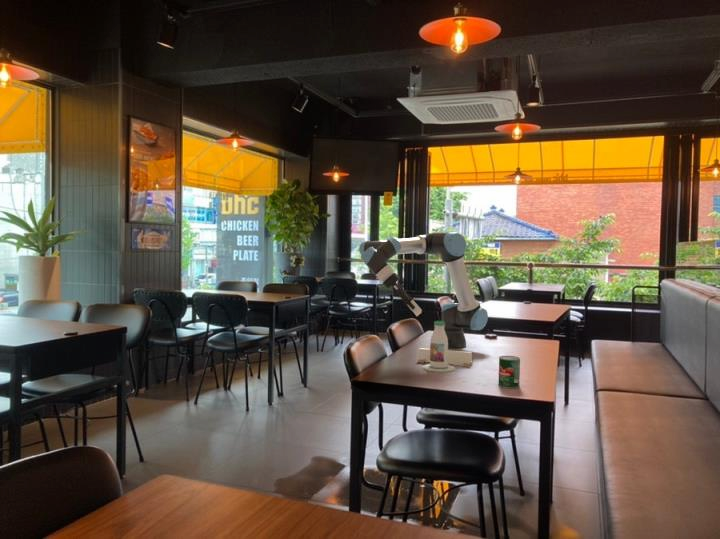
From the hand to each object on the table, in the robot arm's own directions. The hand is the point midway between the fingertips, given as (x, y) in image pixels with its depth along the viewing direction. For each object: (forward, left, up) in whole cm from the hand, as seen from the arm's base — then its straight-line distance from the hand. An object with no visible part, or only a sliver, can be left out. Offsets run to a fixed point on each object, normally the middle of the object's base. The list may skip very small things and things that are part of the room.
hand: (419, 313), depth 252 cm
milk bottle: (+7, +6, -23) cm, 25 cm away
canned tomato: (+44, +13, -24) cm, 52 cm away
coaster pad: (+7, +6, -24) cm, 25 cm away
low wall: (-1, +15, -24) cm, 28 cm away
